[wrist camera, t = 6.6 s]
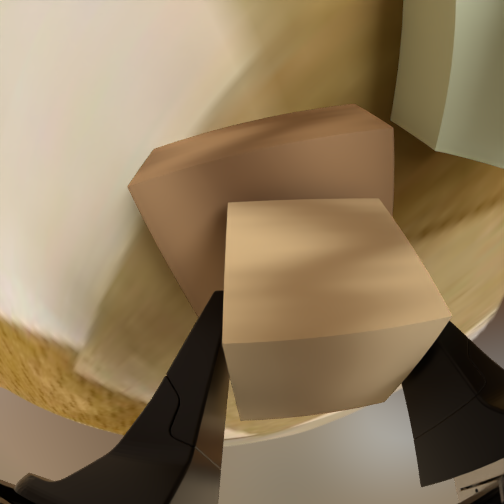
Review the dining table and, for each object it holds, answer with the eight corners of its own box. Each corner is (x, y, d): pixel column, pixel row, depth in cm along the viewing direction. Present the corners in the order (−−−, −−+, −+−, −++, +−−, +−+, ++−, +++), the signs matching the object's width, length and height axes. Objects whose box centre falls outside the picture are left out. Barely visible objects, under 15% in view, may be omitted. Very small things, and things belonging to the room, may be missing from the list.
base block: (352, 102, 11) (393, 127, 8) (360, 253, 17) (382, 304, 14) (155, 146, 12) (127, 186, 9) (214, 283, 18) (211, 338, 15)
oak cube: (378, 198, 9) (452, 316, 5) (352, 298, 12) (384, 401, 8) (228, 202, 9) (222, 344, 5) (238, 306, 12) (240, 420, 8)
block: (472, -11, 6) (527, -8, 3) (456, 135, 12) (504, 168, 9) (400, -47, 6) (451, -63, 3) (388, 119, 11) (434, 150, 8)
